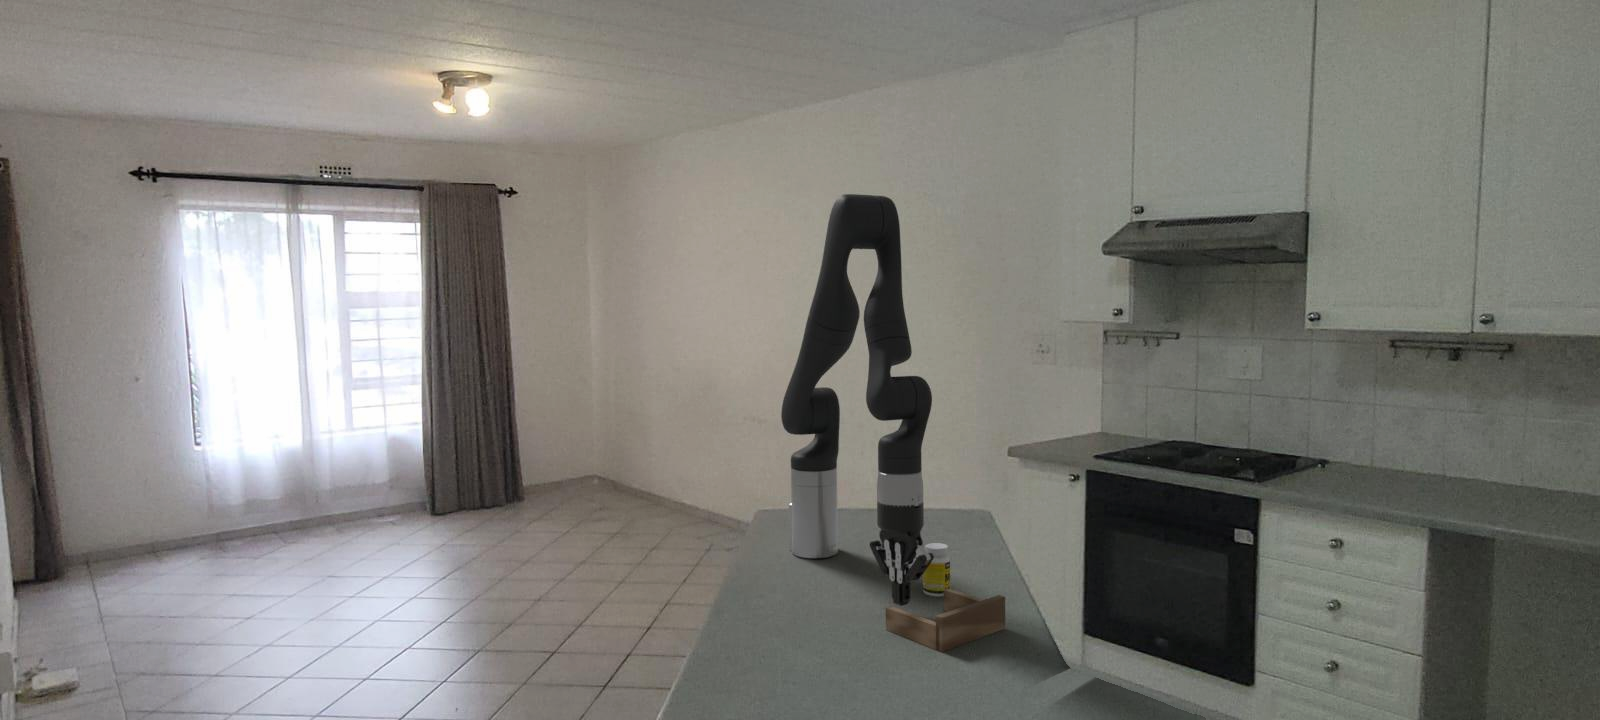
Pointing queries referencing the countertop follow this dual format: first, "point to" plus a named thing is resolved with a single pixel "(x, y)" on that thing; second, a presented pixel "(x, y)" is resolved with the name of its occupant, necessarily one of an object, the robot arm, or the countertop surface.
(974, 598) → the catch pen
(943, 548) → the supplement bottle
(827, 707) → the countertop surface
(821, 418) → the robot arm
